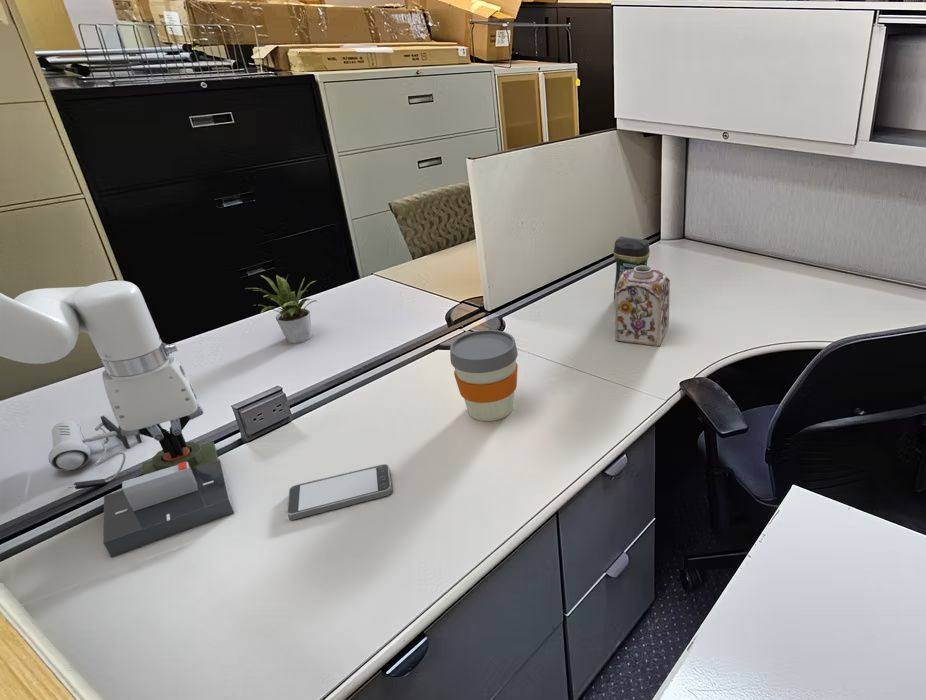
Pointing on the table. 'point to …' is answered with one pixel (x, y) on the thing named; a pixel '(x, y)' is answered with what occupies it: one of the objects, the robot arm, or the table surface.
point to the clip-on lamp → (83, 448)
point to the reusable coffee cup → (486, 372)
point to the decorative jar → (642, 306)
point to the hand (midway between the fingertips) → (177, 452)
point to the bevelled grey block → (159, 486)
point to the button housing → (195, 458)
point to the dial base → (166, 512)
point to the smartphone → (338, 491)
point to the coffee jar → (629, 255)
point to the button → (168, 457)
